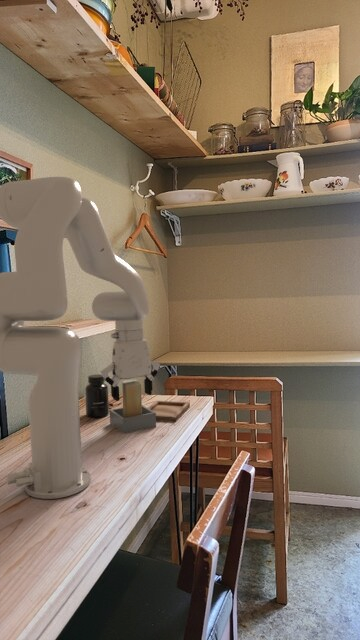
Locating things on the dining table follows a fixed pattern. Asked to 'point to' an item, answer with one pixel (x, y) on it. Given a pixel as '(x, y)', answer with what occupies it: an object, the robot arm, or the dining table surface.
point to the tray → (169, 410)
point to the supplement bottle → (96, 397)
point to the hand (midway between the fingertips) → (132, 396)
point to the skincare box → (131, 398)
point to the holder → (132, 420)
